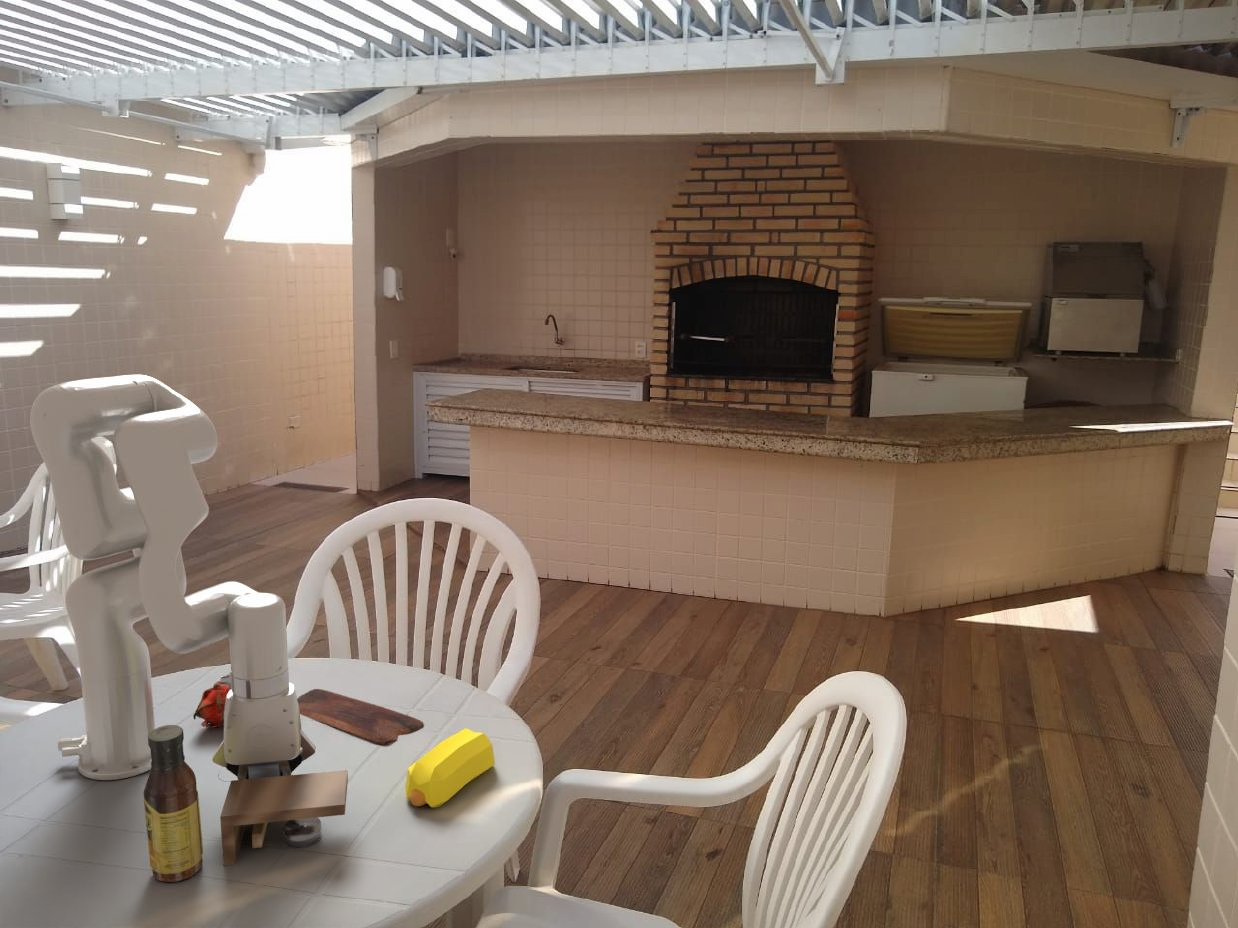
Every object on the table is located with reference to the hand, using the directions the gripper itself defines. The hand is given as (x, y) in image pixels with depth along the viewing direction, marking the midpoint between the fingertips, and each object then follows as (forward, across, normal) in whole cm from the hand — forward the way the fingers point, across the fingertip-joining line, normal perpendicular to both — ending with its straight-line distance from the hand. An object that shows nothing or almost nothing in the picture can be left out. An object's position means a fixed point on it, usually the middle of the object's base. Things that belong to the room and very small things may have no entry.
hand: (267, 798), depth 140 cm
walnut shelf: (+1, +4, -9) cm, 10 cm away
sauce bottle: (+2, -10, -13) cm, 17 cm away
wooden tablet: (+2, +11, +28) cm, 30 cm away
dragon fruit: (+2, -9, +28) cm, 29 cm away
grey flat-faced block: (+1, 0, -5) cm, 5 cm away
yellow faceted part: (+2, +26, +2) cm, 27 cm away
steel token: (+2, +6, -9) cm, 10 cm away
